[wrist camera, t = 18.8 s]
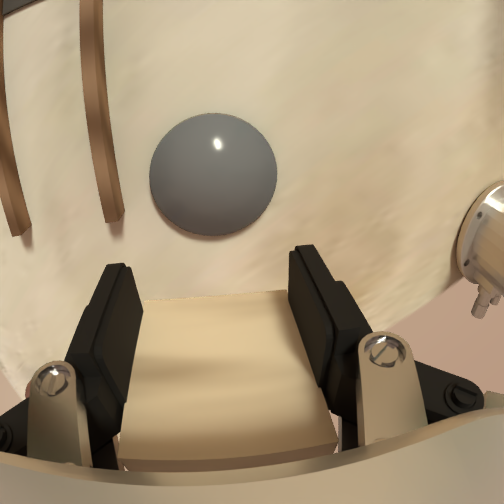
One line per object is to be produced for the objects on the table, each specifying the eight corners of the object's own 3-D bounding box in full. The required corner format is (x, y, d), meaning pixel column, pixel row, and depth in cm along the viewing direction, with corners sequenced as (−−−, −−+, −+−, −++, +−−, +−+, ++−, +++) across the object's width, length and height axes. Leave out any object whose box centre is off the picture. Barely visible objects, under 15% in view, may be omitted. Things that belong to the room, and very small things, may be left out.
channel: (124, 210, 23) (110, 233, 20) (23, 226, 22) (0, 248, 19) (109, -92, 10) (94, -113, 7) (2, -48, 9) (-22, -58, 6)
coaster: (275, 225, 25) (277, 230, 24) (161, 236, 24) (159, 241, 24) (273, 109, 21) (275, 110, 20) (144, 121, 20) (141, 122, 19)
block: (281, 377, 14) (310, 498, 9) (170, 386, 13) (167, 510, 8) (286, 289, 11) (339, 440, 6) (144, 300, 11) (117, 458, 6)
